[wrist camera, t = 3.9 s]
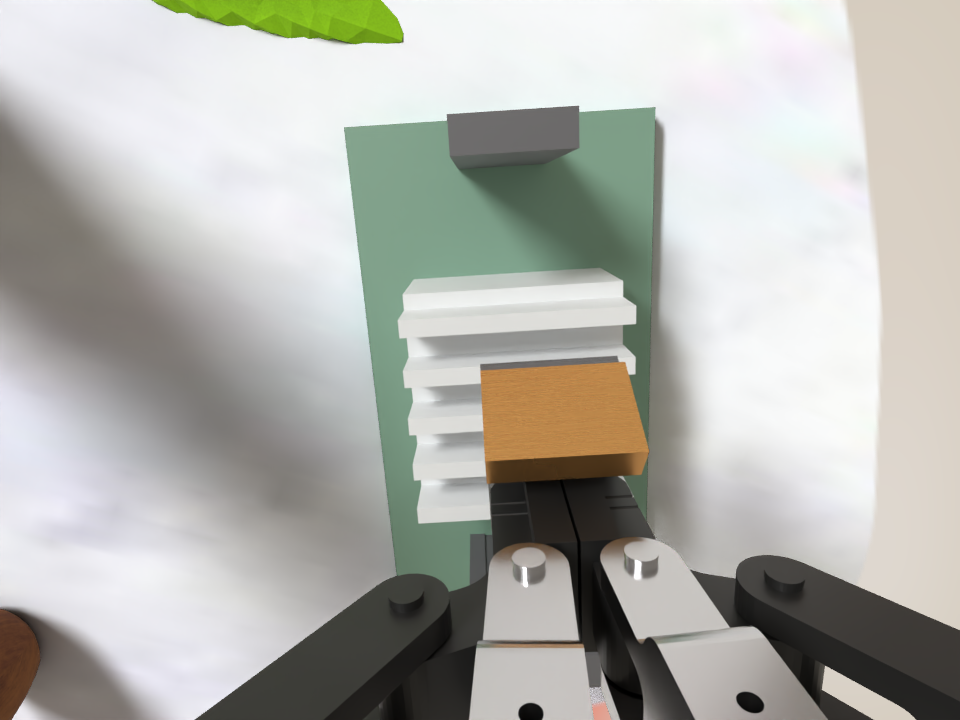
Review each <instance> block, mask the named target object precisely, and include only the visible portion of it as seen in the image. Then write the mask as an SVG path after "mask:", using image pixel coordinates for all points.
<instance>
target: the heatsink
mask: <svg viewBox="0 0 960 720" xmlns="http://www.w3.org/2000/svg"><path fill="white" fill-rule="evenodd" d="M344 131H345V140H346V148H347V157H348V165H349V174H350V182H351V191H352V199H353V208H354V216H355V225H356V233H357V242H358V250H359V259H360V267H361V276H362V284H363V292H364V301H365V309H366V318H367V326H368V335H369V343H370V352H371V360H372V369H373V377H374V386H375V394H376V403H377V411H378V420H379V428H380V437H381V445H382V453H383V462H384V470H385V479H386V487H387V496H388V504H389V513H390V521H391V530H392V538H393V547H394V555H395V564H396V572H397V576H399V575H403V574H416V573H418V574H426V575H430V576H433V577H435V578H437V579H439V580H440V581H442V582H443V583H444V584H445V585H446V587H447V588H448V591H449V592H450V591H454V590H457V589H460V588H463V587H466V586H469V585H471V584H473V583H475V582H477V581H478V580H480V579H481V578H482V577H483V576H485V575H486V573H487V572H488V571H489V566H490V562H491V560H492V558H493V543H492V529H491V516H490V502H489V489H488V484H487V481H486V468H485V452H484V433H483V414H482V395H481V376H480V364H489V363H505V362H521V361H538V360H554V359H571V358H587V357H604V356H618V360H619V362H625V363H626V367H627V370H628V374H629V378H630V381H631V385H632V389H633V393H634V396H635V400H636V404H637V408H638V411H639V415H640V419H641V423H642V426H643V430H644V434H645V438H646V441H647V445H648V423H649V377H650V331H651V285H652V239H653V193H654V146H655V107H652V108H637V109H622V110H606V111H591V112H579V106H568V107H553V108H537V109H522V110H506V111H491V112H476V113H460V114H447V121H436V122H421V123H406V124H390V125H375V126H359V127H344ZM647 470H648V457H647V460H646V463H645V466H644V469H643V471H642V474H641V475H629V476H618V477H620V478H621V479H622V480H624V481H625V482H626V483H627V485H628V487H629V489H630V491H631V493H632V495H633V497H634V499H635V500H636V502H637V504H638V508H640V510H641V512H642V514H643V516H644V518H645V520H646V516H647ZM579 640H580V639H579ZM585 659H586V666H587V673H588V681H589V687H601V662H600V658H599V654H598V652H585Z"/></svg>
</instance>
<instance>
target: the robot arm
mask: <svg viewBox="0 0 960 720" xmlns="http://www.w3.org/2000/svg"><path fill="white" fill-rule="evenodd" d="M490 495H491V516H492V540H493V558H492V560H491V562H490V566H489V571H488V572H487V573H486V575H485V576H483V577H482V578H481V579H480V580H478V581H477V582H475V583H473V584H471V585H469V586H466V587H463V588H460V589H457V590H454V591H450V592H449V591H448V588H447V587H446V585H445V584H444V583H443V582H442V581H440V580H439V579H437V578H435V577H433V576H430V575H426V574H418V573H416V574H403V575H399V576H395V577H393V578H390V579H388V580H386V581H384V582H382V583H380V584H379V585H377V586H376V587H375V588H373V589H372V590H371V591H369V592H368V593H367V594H365V595H364V596H362V597H361V598H360V599H358V600H357V601H356V602H354V603H353V604H352V605H350V606H349V607H347V608H346V609H345V610H343V611H342V612H341V613H339V614H338V615H337V616H335V617H334V618H333V619H331V620H330V621H328V622H327V623H326V624H324V625H323V626H322V627H320V628H319V629H318V630H316V631H315V632H313V633H312V634H311V635H309V636H308V637H307V638H305V639H304V640H303V641H301V642H300V643H299V644H297V645H296V646H294V647H293V648H292V649H290V650H289V651H288V652H286V653H285V654H284V655H282V656H281V657H280V658H278V659H277V660H275V661H274V662H273V663H271V664H270V665H269V666H267V667H266V668H265V669H263V670H262V671H260V672H259V673H258V674H256V675H255V676H254V677H252V678H251V679H250V680H248V681H247V682H246V683H244V684H243V685H241V686H240V687H239V688H237V689H236V690H235V691H233V692H232V693H231V694H229V695H228V696H226V697H225V698H224V699H222V700H221V701H220V702H218V703H217V704H216V705H214V706H213V707H212V708H210V709H209V710H207V711H206V712H205V713H203V714H202V715H201V716H199V717H198V718H197V719H195V720H594V717H593V710H592V703H591V695H590V688H589V681H588V673H587V666H586V659H585V652H598V654H599V658H600V662H601V690H602V694H603V697H604V699H605V702H606V705H607V708H608V711H609V714H610V717H611V720H873V719H871V718H870V717H868V716H866V715H864V714H863V713H861V712H859V711H857V710H856V709H854V708H852V707H851V706H849V705H847V704H845V703H844V702H842V701H840V700H838V699H837V698H835V697H833V696H832V695H830V694H828V693H826V692H825V691H823V690H822V683H823V675H824V668H825V666H827V667H829V668H831V669H833V670H835V671H837V672H838V673H840V674H842V675H844V676H846V677H847V678H849V679H851V680H853V681H855V682H857V683H859V684H861V685H862V686H864V687H866V688H868V689H869V690H871V691H873V692H875V693H877V694H879V695H881V696H882V697H884V698H886V699H888V700H890V701H892V702H894V703H895V704H897V705H899V706H900V707H902V708H904V709H905V710H906V711H908V712H909V713H910V714H911V715H912V716H913V717H914V718H915V719H916V720H960V630H958V629H955V628H952V627H951V626H948V625H946V624H943V623H941V622H939V621H937V620H934V619H932V618H930V617H927V616H925V615H923V614H920V613H918V612H916V611H913V610H911V609H909V608H906V607H904V606H902V605H899V604H897V603H895V602H892V601H890V600H888V599H885V598H883V597H881V596H878V595H876V594H874V593H871V592H869V591H867V590H865V589H862V588H860V587H858V586H855V585H853V584H851V583H848V582H846V581H844V580H841V579H839V578H837V577H834V576H832V575H830V574H827V573H825V572H823V571H820V570H818V569H816V568H813V567H811V566H809V565H806V564H804V563H801V562H799V561H796V560H793V559H790V558H786V557H781V556H773V555H761V556H754V557H750V558H748V559H745V560H744V561H742V562H741V563H740V564H739V565H738V567H737V570H736V579H734V578H728V577H721V576H715V575H708V574H703V573H699V572H696V571H692V570H690V569H689V568H688V566H687V565H686V564H685V562H684V561H683V559H682V558H681V556H680V555H679V554H678V553H677V552H676V551H675V550H674V549H673V548H671V547H670V546H668V545H666V544H664V543H662V542H660V541H657V540H656V539H655V537H654V535H653V533H652V531H651V529H650V527H649V525H648V524H647V522H646V520H645V518H644V516H643V514H642V512H641V510H640V508H638V504H637V502H636V500H635V499H634V497H633V495H632V493H631V491H630V489H629V487H628V485H627V483H626V482H625V481H624V480H622V479H621V478H620V477H618V476H612V477H595V478H578V479H561V480H544V481H527V482H510V483H495V484H494V485H493V487H492V488H491V489H490ZM579 639H580V640H579Z"/></svg>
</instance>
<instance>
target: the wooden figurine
mask: <svg viewBox="0 0 960 720" xmlns="http://www.w3.org/2000/svg"><path fill="white" fill-rule="evenodd" d="M39 663H40V651H39V646H38V642H37V640H36V637H35V634H34V632H33V631H32V630H31V628H30V627H29V626H28V625H27V623H26V622H24V621H23V620H22V619H21V618H19V617H18V616H17V615H15V614H13V613H11V612H8V611H6V610H3V609H0V720H12V718H13V717H14V715H15V713H16V712H17V710H18V709H19V707H20V705H21V704H22V702H23V701H24V699H25V697H26V695H27V693H28V691H29V689H30V687H31V685H32V682H33V680H34V678H35V675H36V673H37V670H38V666H39Z"/></svg>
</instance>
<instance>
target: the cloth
mask: <svg viewBox="0 0 960 720" xmlns="http://www.w3.org/2000/svg"><path fill="white" fill-rule="evenodd" d="M152 1H154V2H155V3H157V4H158V5H163V6H165V7H167V8H168V9H170V10H172V11H174V12H176V13H188V14H190V15H192V16H194V17H196V18H207V19H209V20H212V21H214V22H220V23H222V24H225V25H227V26H238V25H246V26H248V27H250V28H251V29H253V30H263V31H266V32H269V33H271V34H278V35H281V36H284V37H287V38H297V37H306V38H308V39H312V38H318V37H319V38H322V39H325V40H330V39H336V40H340V41H343V42H349V43H352V44H360V43H386V44H387V43H401V42H402V38H403V34H404V33H403V31H402V29H401V26H400V24H399V21H398V19H397V17H396V16H395V15H394V14H393V13H392V12H391V11H390V10H389V9H388V7H387V6H386V5H385V4H384V3H383V2H382V1H381V0H152Z"/></svg>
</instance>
